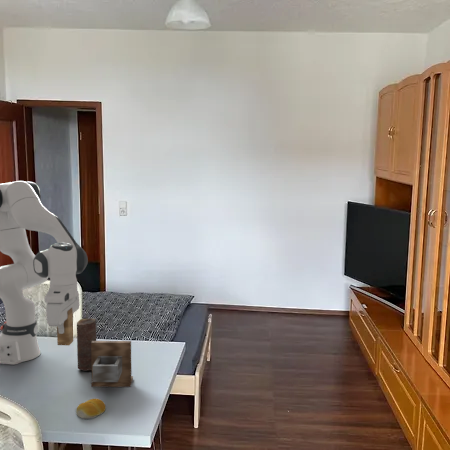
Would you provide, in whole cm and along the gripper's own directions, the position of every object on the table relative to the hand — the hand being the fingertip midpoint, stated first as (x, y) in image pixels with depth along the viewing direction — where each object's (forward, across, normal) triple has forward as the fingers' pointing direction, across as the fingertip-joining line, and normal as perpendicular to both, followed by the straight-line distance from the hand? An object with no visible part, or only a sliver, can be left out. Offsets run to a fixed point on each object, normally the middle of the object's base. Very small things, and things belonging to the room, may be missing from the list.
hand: (65, 330), depth 166 cm
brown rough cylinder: (+23, -20, 0) cm, 31 cm away
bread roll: (+24, +11, +12) cm, 29 cm away
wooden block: (+5, 0, 0) cm, 5 cm away
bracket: (+23, -5, +14) cm, 28 cm away
